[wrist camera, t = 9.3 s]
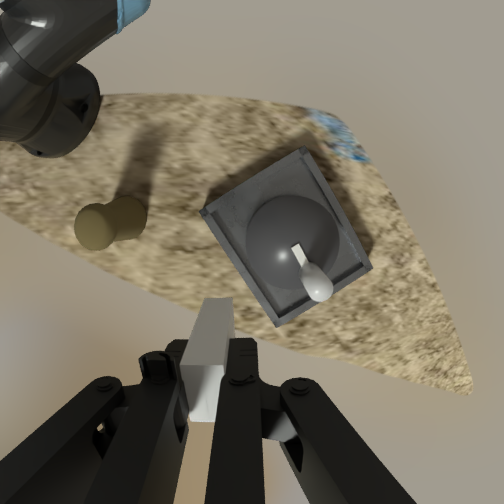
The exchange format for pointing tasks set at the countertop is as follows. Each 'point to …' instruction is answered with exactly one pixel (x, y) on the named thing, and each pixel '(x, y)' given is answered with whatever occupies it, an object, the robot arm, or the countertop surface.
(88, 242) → the cork
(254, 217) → the lever
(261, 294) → the dark grey tray
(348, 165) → the countertop surface
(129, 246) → the countertop surface
